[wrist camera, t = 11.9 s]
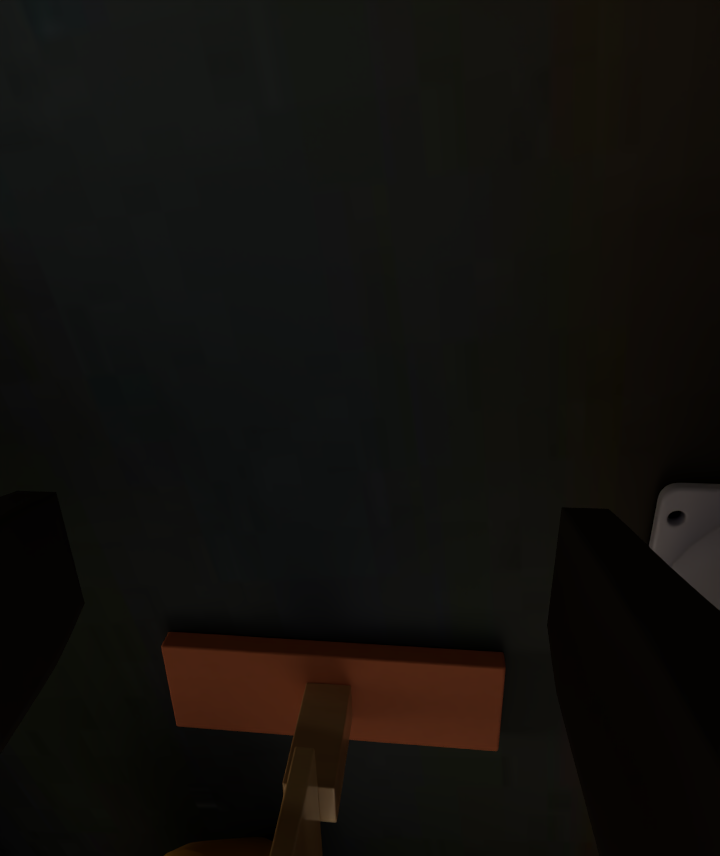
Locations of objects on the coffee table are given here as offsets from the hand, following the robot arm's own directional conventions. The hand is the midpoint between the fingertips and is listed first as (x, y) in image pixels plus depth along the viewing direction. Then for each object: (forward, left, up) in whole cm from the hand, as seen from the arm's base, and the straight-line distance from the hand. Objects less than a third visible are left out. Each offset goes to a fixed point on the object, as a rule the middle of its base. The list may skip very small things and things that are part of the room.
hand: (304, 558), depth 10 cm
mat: (-13, +2, -10) cm, 17 cm away
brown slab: (-13, +2, -10) cm, 16 cm away
